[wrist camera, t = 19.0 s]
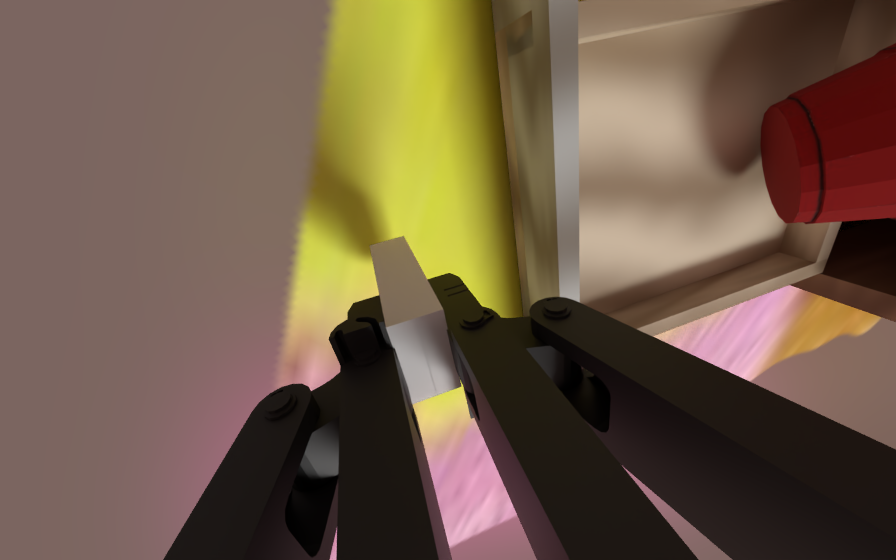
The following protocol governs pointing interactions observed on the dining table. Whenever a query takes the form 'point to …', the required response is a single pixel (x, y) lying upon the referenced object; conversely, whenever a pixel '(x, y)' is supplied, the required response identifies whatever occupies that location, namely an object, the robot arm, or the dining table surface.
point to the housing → (860, 269)
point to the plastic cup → (835, 146)
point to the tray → (662, 146)
